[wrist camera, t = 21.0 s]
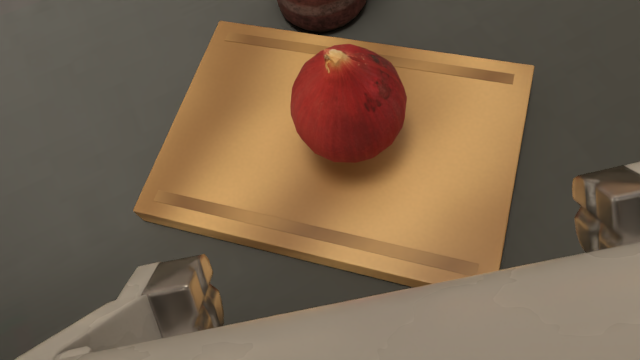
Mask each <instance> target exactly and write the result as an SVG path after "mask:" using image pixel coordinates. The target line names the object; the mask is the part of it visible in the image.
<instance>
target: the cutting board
mask: <svg viewBox="0 0 640 360" xmlns="http://www.w3.org/2000/svg"><path fill="white" fill-rule="evenodd" d="M342 44H352V45H356V46H359V47H363V48H366V49H368V50H370V51H373V52H375V53H377V54H378V55H380V56H381V57H383V58H385V59H387V60H388V61H389V62H391V63H392V65H393V66H394V67H395V69H396V71H397V73H398V75H399V77H400V80H401V82H402V84H403V86H404V89H405V92H406V96H407V102H406V111H405V119H404V123H403V127H402V129H401V130H400V132H399V134H398V135H397V137H396V138H395V140H394V142H393V143H392V145H390V146H389V147H387V148H386V149H385V150H383V151H382V152H381V153H379V154H378V155H377V156H375V157H374V158H372V159H368V160H364V161H361V162H357V163H345V162H333V161H330V160H328V159H326V158H324V157H322V156H320V155H317V154H315V153H314V152H313V151H312V150H311V149H310V148H309V147H308V146H307V144H306V143H305V142H304V141H303V140H302V139H301V138H300V136H299V135H298V133H297V131H296V128H295V125H294V122H293V119H292V117H291V109H290V104H291V93H292V87H293V84H294V81H295V80H296V78H297V76H298V74H299V72H300V70H301V68H302V66H303V65H304V64H305V62H307V61H308V60H309V59H311V58H312V57H313V56H315V55H316V54H317V53H318V52H320V51H322V50H324V49H327V48H329V47H332V46H334V45H342ZM533 72H534V66H532V65H525V64H518V63H511V62H504V61H497V60H490V59H483V58H476V57H469V56H462V55H455V54H448V53H441V52H434V51H427V50H420V49H413V48H406V47H399V46H392V45H385V44H378V43H371V42H364V41H357V40H350V39H343V38H336V37H329V36H322V35H315V34H308V33H301V32H294V31H287V30H280V29H273V28H266V27H259V26H252V25H245V24H238V23H231V22H225V21H219V23H218V25H217V28H216V30H215V32H214V34H213V36H212V39H211V41H210V43H209V45H208V47H207V50H206V52H205V54H204V56H203V58H202V61H201V63H200V65H199V67H198V69H197V71H196V74H195V76H194V78H193V80H192V82H191V85H190V87H189V89H188V91H187V93H186V96H185V98H184V100H183V102H182V104H181V106H180V109H179V111H178V113H177V115H176V117H175V120H174V122H173V124H172V126H171V128H170V131H169V133H168V135H167V137H166V139H165V142H164V144H163V146H162V148H161V150H160V152H159V155H158V157H157V159H156V161H155V163H154V166H153V168H152V170H151V172H150V174H149V177H148V179H147V181H146V183H145V185H144V188H143V190H142V192H141V194H140V196H139V198H138V201H137V203H136V205H135V207H134V209H133V211H134V212H135V213H136V214H137V215H138V216H139V217H140V218H142V219H143V220H144V221H148V222H152V223H156V224H160V225H164V226H168V227H172V228H176V229H180V230H184V231H188V232H192V233H196V234H200V235H204V236H209V237H213V238H217V239H221V240H225V241H229V242H233V243H237V244H241V245H245V246H249V247H253V248H257V249H261V250H265V251H269V252H273V253H277V254H281V255H285V256H289V257H293V258H297V259H301V260H305V261H310V262H314V263H318V264H322V265H326V266H330V267H334V268H338V269H342V270H346V271H350V272H354V273H358V274H362V275H366V276H370V277H374V278H378V279H382V280H386V281H390V282H394V283H398V284H402V285H407V286H411V287H419V286H424V285H429V284H434V283H439V282H444V281H449V280H454V279H459V278H464V277H469V276H474V275H479V274H483V273H488V272H493V271H498V270H500V264H501V258H502V252H503V246H504V241H505V235H506V229H507V223H508V217H509V211H510V206H511V200H512V194H513V188H514V182H515V177H516V171H517V165H518V159H519V153H520V148H521V142H522V136H523V130H524V124H525V118H526V113H527V107H528V101H529V95H530V89H531V84H532V78H533Z"/></svg>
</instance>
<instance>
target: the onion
mask: <svg viewBox="0 0 640 360" xmlns="http://www.w3.org/2000/svg"><path fill="white" fill-rule="evenodd" d="M406 102H407V96H406V92H405V89H404V86H403V84H402V82H401V80H400V77H399V75H398V73H397V71H396V69H395V67H394V66H393V65H392V63H391V62H389V61H388V60H387V59H385V58H383V57H381V56H380V55H378V54H377V53H375V52H373V51H370V50H368V49H366V48H363V47H359V46H356V45H352V44H342V45H334V46H332V47H329V48H327V49H324V50H322V51H320V52H318V53H317V54H316V55H315V56H313V57H312V58H311V59H309V60H308V61H307V62H305V64H304V65H303V66H302V68H301V70H300V72H299V74H298V76H297V78H296V80H295V81H294V84H293V87H292V93H291V104H290V109H291V117H292V119H293V122H294V125H295V128H296V131H297V133H298V135H299V136H300V138H301V139H302V140H303V141H304V142H305V143H306V144H307V146H308V147H309V148H310V149H311V150H312V151H313V152H314V153H315V154H317V155H320V156H322V157H324V158H326V159H328V160H330V161H333V162H345V163H357V162H361V161H364V160H368V159H372V158H374V157H375V156H377V155H378V154H379V153H381V152H382V151H383V150H385V149H386V148H387V147H389V146H390V145H392V143H393V142H394V140H395V138H396V137H397V135H398V134H399V132H400V130H401V129H402V127H403V123H404V119H405V111H406Z"/></svg>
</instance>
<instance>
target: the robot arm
mask: <svg viewBox="0 0 640 360" xmlns="http://www.w3.org/2000/svg"><path fill="white" fill-rule="evenodd" d="M572 192H573V199H574V200H575V201H576V202H577V203H578V204H579V205H580V206H581V207H580V209H579V211H578V212H577V214H576V216H575V226H576V233H577V236H578V239H579V242H580V244H581V246H582V248H583V249H584V251H585V252H586V253H583V254H578V255H573V256H568V257H563V258H558V259H553V260H548V261H543V262H538V263H533V264H528V265H523V266H518V267H513V268H508V269H503V270H498V271H493V272H488V273H483V274H479V275H474V276H469V277H464V278H459V279H454V280H449V281H444V282H439V283H434V284H429V285H424V286H419V287H414V288H409V289H404V290H399V291H394V292H389V293H384V294H379V295H375V296H370V297H365V298H360V299H355V300H350V301H345V302H340V303H335V304H330V305H325V306H320V307H315V308H310V309H305V310H300V311H295V312H290V313H285V314H280V315H275V316H271V317H266V318H261V319H256V320H251V321H246V322H241V323H236V324H231V325H226V326H223V324H224V311H223V306H222V300H221V297H220V294H219V290H217V289H216V288H215V287H213V286H212V285H211V284H210V280H211V277H212V274H213V271H212V268H211V265H210V262H209V259H208V258H207V257H206V255H205V254H202V255H197V256H192V257H186V258H181V259H176V260H171V261H166V262H157V263H153V264H148V265H144V266H139V267H137V268H136V270H135V272H134V273H133V275H132V276H131V278H130V279H129V281H128V282H127V284H126V285H125V287H124V289H123V290H122V292H121V293H120V295H119V296H118V298H117V299H116V301H112V302H108V303H107V304H105V305H103V306H102V307H100V308H98V309H97V310H95V311H93V312H92V313H90V314H88V315H87V316H85V317H84V318H82V319H80V320H79V321H77V322H75V323H74V324H72V325H70V326H69V327H67V328H65V329H64V330H62V331H60V332H59V333H57V334H55V335H54V336H52V337H51V338H49V339H47V340H46V341H44V342H42V343H41V344H39V345H37V346H36V347H34V348H32V349H31V350H29V351H27V352H26V353H24V354H22V355H21V356H19V357H18V358H16V359H14V360H640V162H637V163H633V164H629V165H625V166H624V165H621V166H617V167H613V168H608V169H604V170H600V171H595V172H591V173H587V174H582V175H578V176H577V177H575V178H574V179H573V185H572Z"/></svg>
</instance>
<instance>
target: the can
mask: <svg viewBox="0 0 640 360" xmlns="http://www.w3.org/2000/svg"><path fill="white" fill-rule="evenodd" d="M277 1H278V5H279V7H280V10H281V12H282V14H283V16H284V17H285V18H286V19H287V20H289V21H290V22H291V23H292V24H293V25H295V26H297V27H300V28H302V29H304V30H307V31H313V32H326V31H333V30H335V29H338V28H340V27H343V26H345V25H346V24H348V23H349V22H350V21H352V20H353V19H354V18H355V17H356V16H357V15H358V13H359V12H360V11H361V9H362V8H363V6H364V5H365V3H366V0H277Z"/></svg>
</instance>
